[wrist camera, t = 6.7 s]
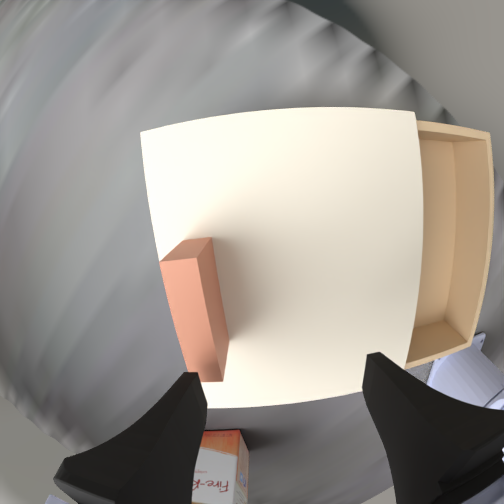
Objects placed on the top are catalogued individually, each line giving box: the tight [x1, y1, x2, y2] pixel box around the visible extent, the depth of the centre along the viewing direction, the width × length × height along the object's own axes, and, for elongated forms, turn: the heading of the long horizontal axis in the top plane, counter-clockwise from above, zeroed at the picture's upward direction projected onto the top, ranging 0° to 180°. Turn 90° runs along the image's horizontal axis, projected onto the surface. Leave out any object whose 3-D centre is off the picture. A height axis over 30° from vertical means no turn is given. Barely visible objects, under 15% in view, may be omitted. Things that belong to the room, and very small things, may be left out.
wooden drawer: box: [404, 120, 494, 370], centre depth 17 cm, size 17×14×5 cm
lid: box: [140, 107, 423, 408], centre depth 12 cm, size 18×14×4 cm
